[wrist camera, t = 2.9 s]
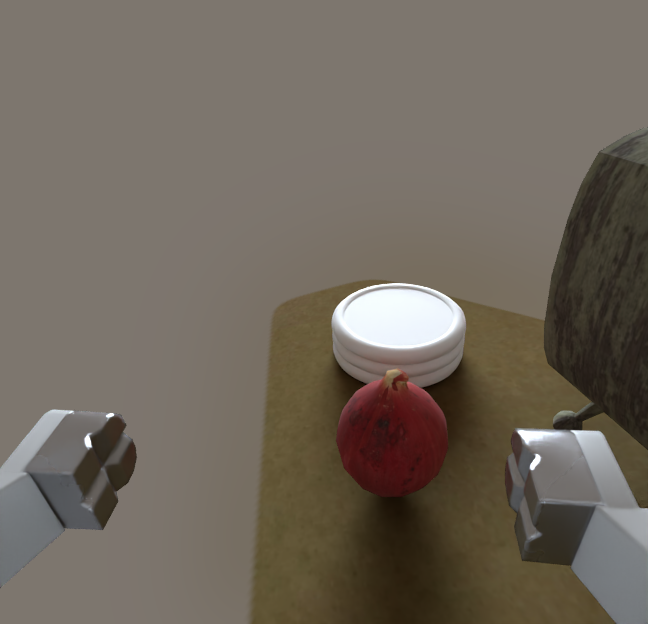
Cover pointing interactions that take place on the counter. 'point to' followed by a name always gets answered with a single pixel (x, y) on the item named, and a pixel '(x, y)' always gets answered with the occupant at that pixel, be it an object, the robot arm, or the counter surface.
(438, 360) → the white round flat cylinder
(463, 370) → the counter surface
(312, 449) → the counter surface
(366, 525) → the counter surface
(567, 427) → the tabletop clock
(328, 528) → the counter surface
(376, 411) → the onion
